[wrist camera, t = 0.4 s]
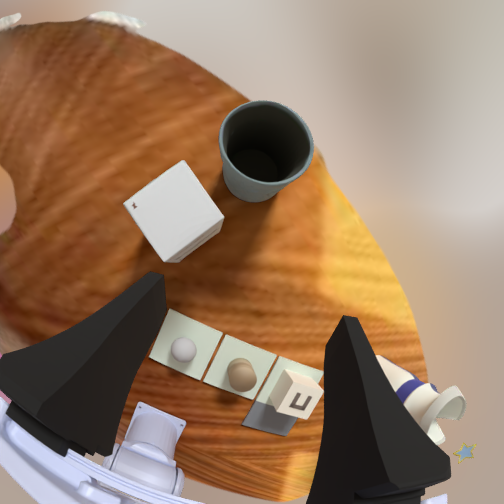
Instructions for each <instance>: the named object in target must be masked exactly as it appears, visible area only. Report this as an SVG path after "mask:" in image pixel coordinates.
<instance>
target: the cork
mask: <svg viewBox="0 0 504 504" xmlns="http://www.w3.org/2000/svg"><path fill="white" fill-rule="evenodd" d="M227 371H228V377H229V383H230V386H231V387H232V388H233V389H234V390H236V391H238V392H247V391H250V390H251V389H253V388H254V386H255V385H256V382H257V377H256V374H255V372H254V369H253V367H252V365H251V363H250V362H249V361H248V360H247V359H244V358H236V359H234V360H232V361H231V362H230V363H229V365H228V368H227Z"/></svg>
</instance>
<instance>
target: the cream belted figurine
mask: <svg viewBox="0 0 504 504" xmlns="http://www.w3.org/2000/svg"><path fill="white" fill-rule="evenodd" d="M376 357H377V359H378V361H379V363H380V365H381V367H382V369H383V371H384V373H385V375H386V377H387V378H388V380H389V382H390V384H391V386H392V387H393V389H394V391H395V392H396V394H397V395H398V397H399V398H400V400H401V401H402V403H403V405H404V406H405V407H406V409H407V410H408V412H409V413H410V414H411V416H412V417H413V418H414V420H415V421H416V422H417V423H418V425H419V426H420V427H421V428H422V430H423V431H424V432H425V433H426V434H427V435H428V436H429V437H430V439H431V440H432V441H433V442H434V443H435V444H436V445H439V444H441V443H443V442H444V441H445V439H446V438H445V436H444V434H443V432H442V430H441V429H440V427H439V425H438V423H437V421H436V418H447V419H454V420H459V419H461V418H462V417H463V415H464V413H465V409H466V400H465V398H464V396H463V395H462V393H461V392H460V390H459V389H458V388H457V386H451V387H450V388H448V389H446V390H445V391H444V392H443V393H442V394H440V393H439V392H437V389H436V387H435V386H434V385H433V384H431V383H427V384H425V383H423V382H421V381H419V379H418V378H417V377H416V376H415V375H414V374H412V373H410V372H409V371H407V370H405V369H403V368H401V367H399V366H398V365H396V364H394V363H393V362H391V361H390V360H388V359H387V358H385V357H383V356H380V355H376ZM475 446H476V444H475V445H472V446H469V447H467V445H466V444H465V443H463V445H462V447H461V449H460V450H458V451H456V452H455V453H453V454H454V455H457V456H460V457H459V461H458V463H460V462H462V461H463V460H464V459H465V458H473V454H472V450H473V449H474V447H475Z"/></svg>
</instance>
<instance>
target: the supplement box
mask: <svg viewBox="0 0 504 504" xmlns="http://www.w3.org/2000/svg"><path fill="white" fill-rule="evenodd" d="M123 205H124V206H125V208H126V209H127V211H128V212H129V214H130V215H131V217H132V218H133V220H134V221H135V223H136V224H137V226H138V227H139V228H140V230H141V231H142V233H143V234H144V236H145V237H146V238H147V240H148V241H149V243H150V244H151V245H152V247H153V248H154V249H155V251H156V252H157V254H158V255H159V256H160V258H161V259H162V260H163V262H180V261H181V260H182V259H184V258H185V257H186V256H187V255H189V254H190V253H191V252H193V251H194V250H195V249H197V248H198V247H199V246H201V245H202V244H203V243H205V242H206V241H207V240H209V239H210V238H212V237H213V236H214V235H216V234H217V233H219V232H220V229H221V226H222V223H223V220H224V216H223V214H222V213H221V212H220V210H219V209H218V207H217V206H216V205H215V203H214V202H213V200H212V199H211V198H210V196H209V195H208V193H207V192H206V190H205V189H204V188H203V186H202V185H201V183H200V182H199V180H198V179H197V178H196V176H195V175H194V173H193V172H192V171H191V169H190V168H189V166H188V165H187V163H186V162H185V161H184V160H182V161H180V162H179V163H177V164H176V165H174V166H173V167H171V168H170V169H169V170H167V171H166V172H164V173H163V174H162V175H160V176H159V177H157V178H156V179H155V180H153V181H152V182H150V183H149V184H148V185H147V186H145V187H144V188H143V189H141V190H140V191H139V192H137V193H136V194H135V195H133V196H132V197H131V198H130V199H128V200H127V201H126V202H124V204H123Z"/></svg>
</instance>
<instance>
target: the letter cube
mask: <svg viewBox="0 0 504 504" xmlns="http://www.w3.org/2000/svg"><path fill="white" fill-rule="evenodd" d="M323 392H324V391H323V389H322V388H321V387H320V386H319V385H318V384H317V383H316V382H315V381H314V380H313V379H312V378H311V377H308V376H304V375H301V374H299V373H296V372H293V371H290V370H287V369H284V370H283V371H282V373H281V375H280V377H279V379H278V381H277V383H276V384H275V386H274V388H273V390H272V392H271V393H270V395H269V397H270V399H271V401H272V403H273V405H274V407H275V409H276V412H280V413H284V414H287V415H291V416H295V417H299V418H303V419H308V417H309V416H310V414H311V412H312V411H313V409H314V407H315V406H316V404H317V402H318V401H319V399H320V397H321V395H322V394H323Z"/></svg>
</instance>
